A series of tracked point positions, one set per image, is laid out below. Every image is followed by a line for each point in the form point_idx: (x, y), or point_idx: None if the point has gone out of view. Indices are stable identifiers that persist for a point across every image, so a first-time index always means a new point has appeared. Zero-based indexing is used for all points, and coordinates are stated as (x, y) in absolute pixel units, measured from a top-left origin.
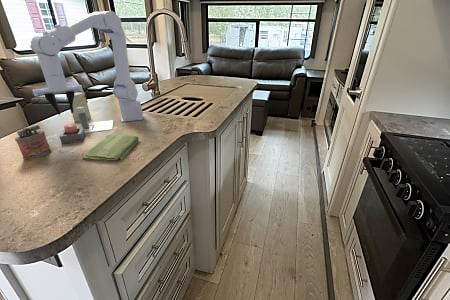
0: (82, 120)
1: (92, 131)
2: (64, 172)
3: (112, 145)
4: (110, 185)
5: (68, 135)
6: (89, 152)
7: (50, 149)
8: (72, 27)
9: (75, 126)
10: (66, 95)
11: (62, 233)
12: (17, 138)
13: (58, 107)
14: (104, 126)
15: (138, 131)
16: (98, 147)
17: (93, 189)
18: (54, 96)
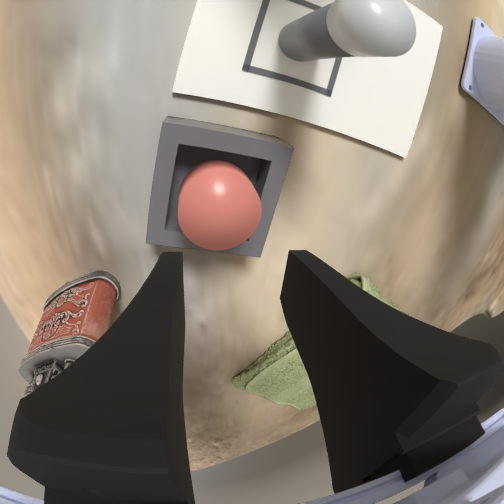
0: (317, 55)
1: (322, 126)
2: (186, 405)
3: None
4: (262, 439)
5: (194, 248)
6: (256, 388)
7: (117, 294)
8: None
9: (252, 229)
10: (335, 490)
11: (198, 469)
12: (30, 378)
13: (179, 302)
14: (391, 89)
15: (446, 241)
16: (287, 380)
17: (236, 442)
18: (181, 459)
